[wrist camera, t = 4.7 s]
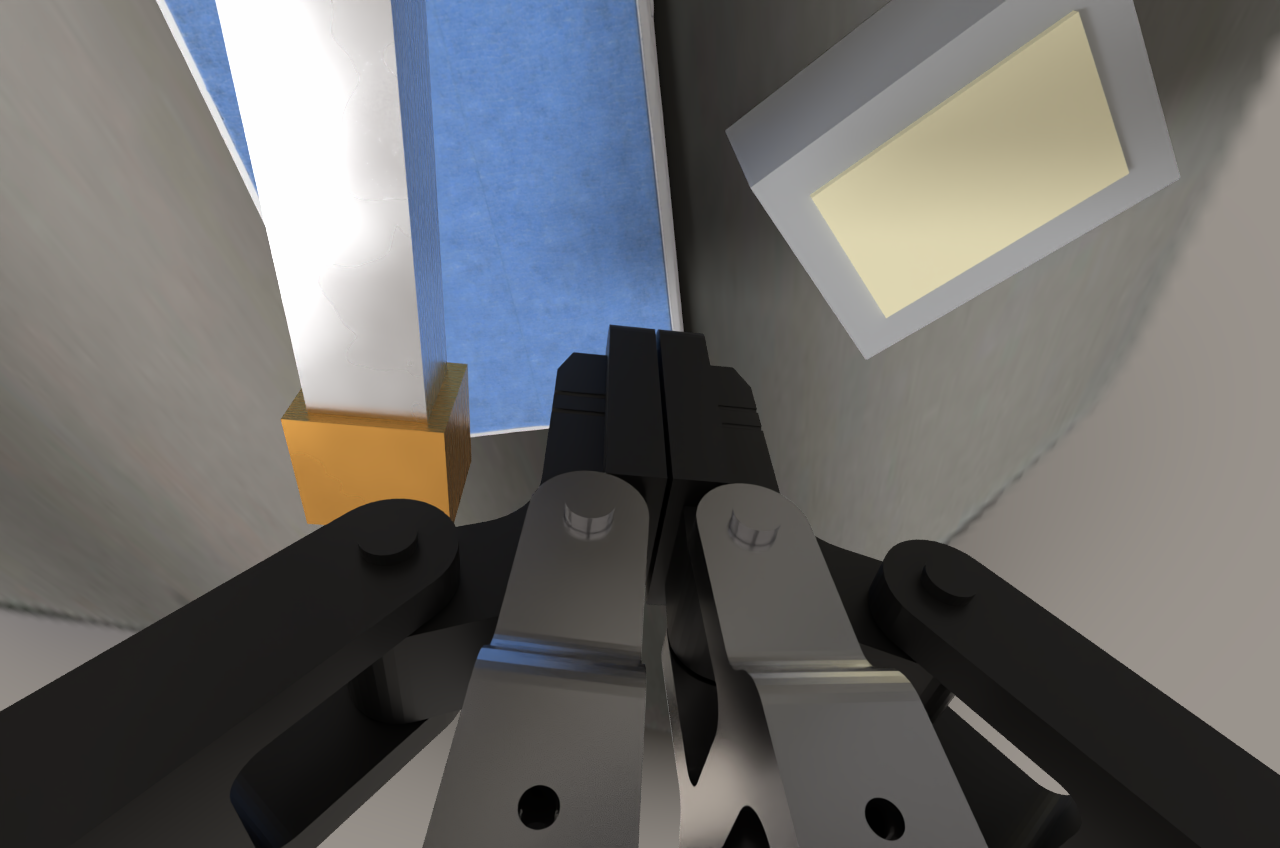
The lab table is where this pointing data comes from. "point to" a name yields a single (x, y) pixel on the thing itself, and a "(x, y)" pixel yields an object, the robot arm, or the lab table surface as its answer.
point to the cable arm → (354, 245)
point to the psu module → (954, 151)
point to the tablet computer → (523, 183)
